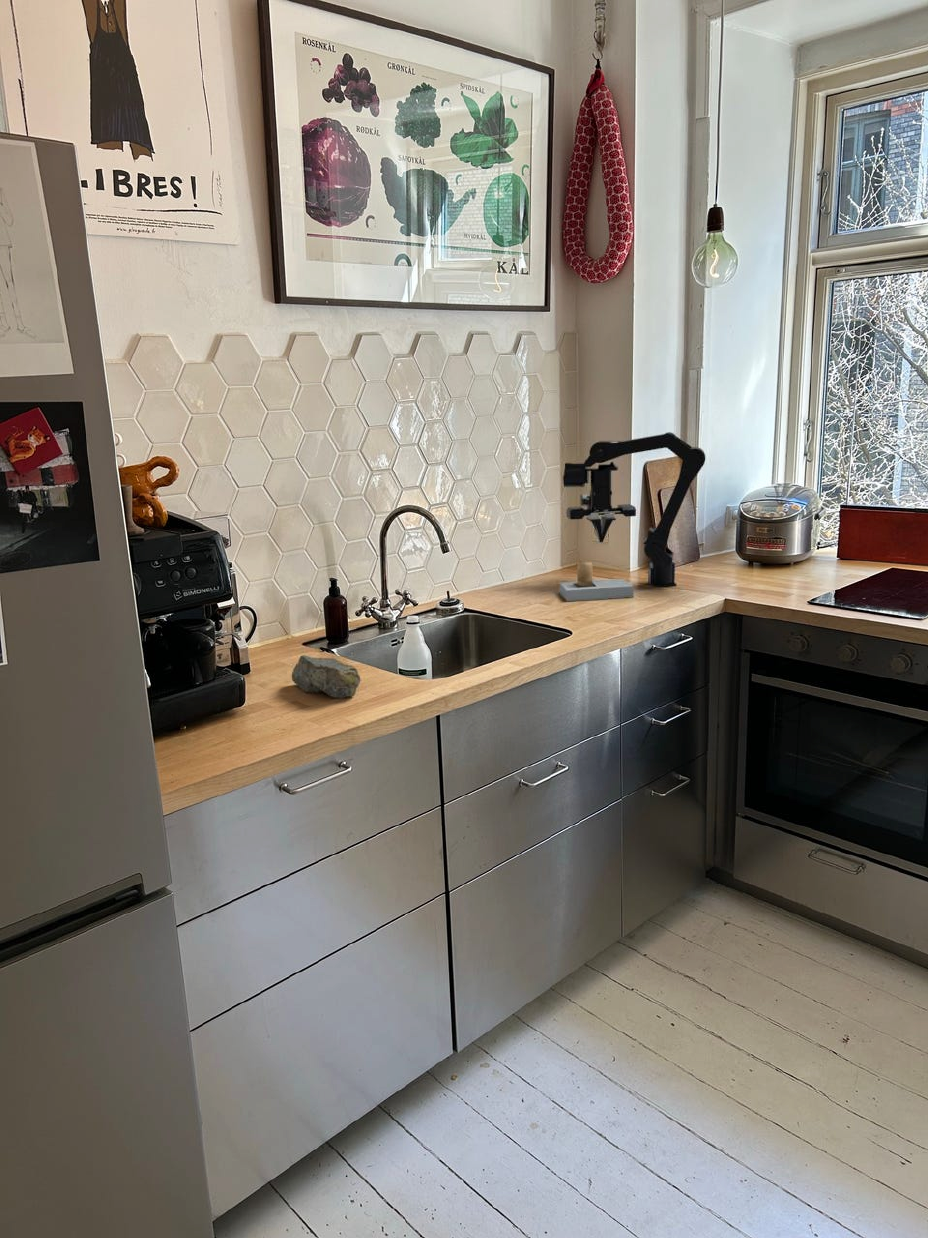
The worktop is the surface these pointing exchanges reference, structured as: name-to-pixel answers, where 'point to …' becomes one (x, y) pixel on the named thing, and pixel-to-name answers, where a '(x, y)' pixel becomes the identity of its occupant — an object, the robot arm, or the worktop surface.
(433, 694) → the worktop surface
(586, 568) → the peg
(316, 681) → the rock
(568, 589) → the board
